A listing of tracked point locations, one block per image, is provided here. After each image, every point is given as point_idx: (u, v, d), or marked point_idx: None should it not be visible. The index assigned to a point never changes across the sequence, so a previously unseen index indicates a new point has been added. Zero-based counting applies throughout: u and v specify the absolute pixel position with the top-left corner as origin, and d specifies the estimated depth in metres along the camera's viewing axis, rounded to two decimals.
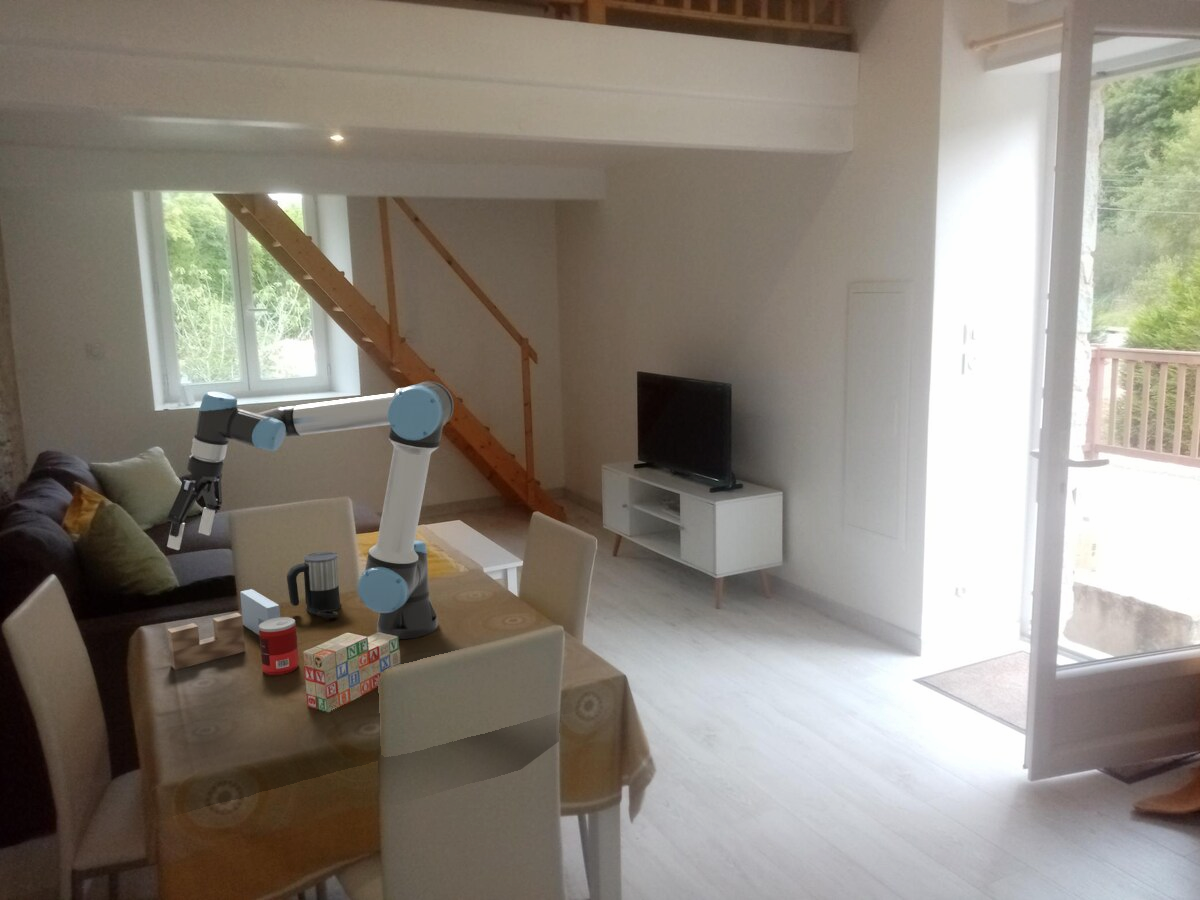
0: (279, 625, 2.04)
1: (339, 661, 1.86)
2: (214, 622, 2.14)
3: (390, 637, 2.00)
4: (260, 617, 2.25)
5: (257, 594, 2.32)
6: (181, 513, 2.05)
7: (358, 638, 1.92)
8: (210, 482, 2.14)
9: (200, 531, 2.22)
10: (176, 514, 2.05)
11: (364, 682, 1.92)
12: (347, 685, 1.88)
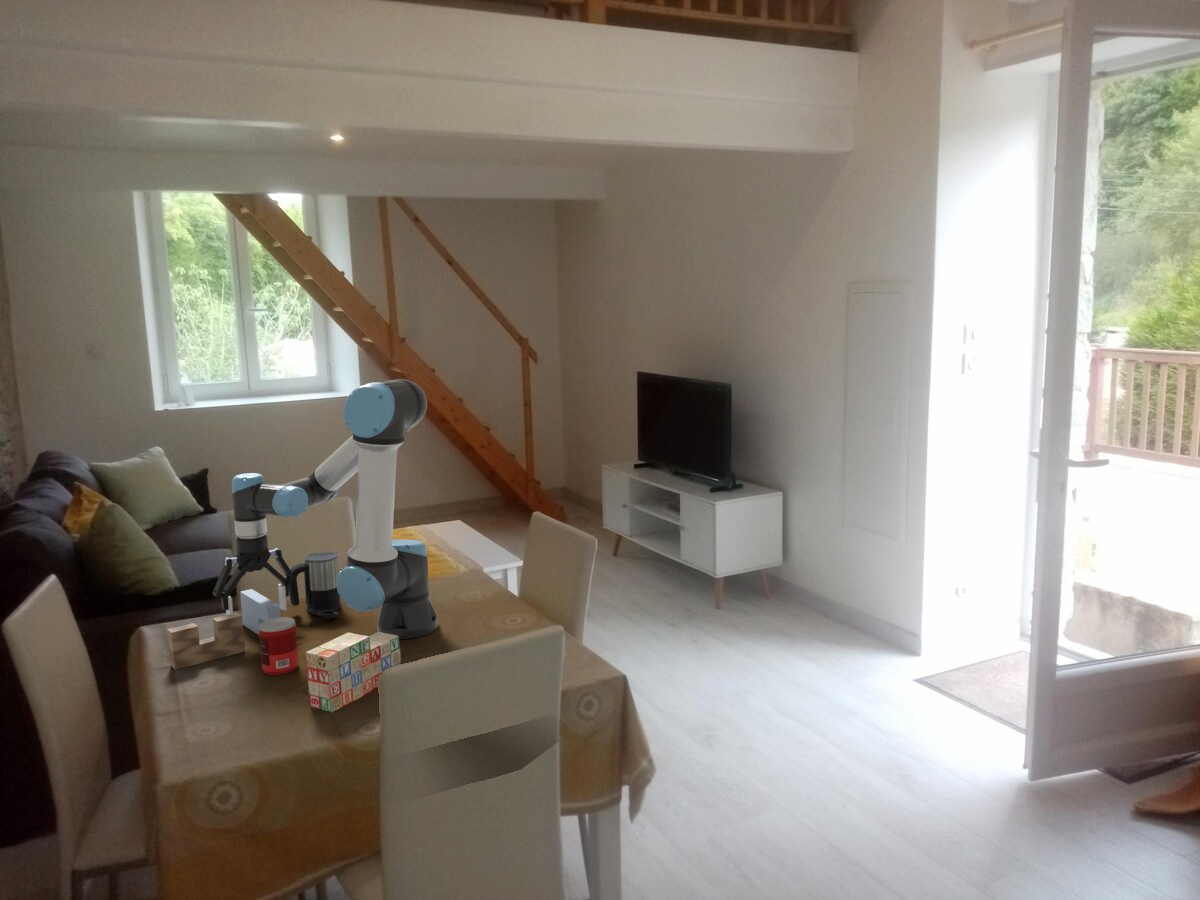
0: (279, 625, 2.04)
1: (342, 661, 1.86)
2: (214, 622, 2.14)
3: (390, 636, 2.00)
4: (260, 617, 2.25)
5: (257, 594, 2.32)
6: (221, 588, 2.23)
7: (360, 637, 1.92)
8: (259, 558, 2.28)
9: (280, 607, 2.36)
10: (217, 589, 2.23)
11: (366, 681, 1.92)
12: (350, 685, 1.88)
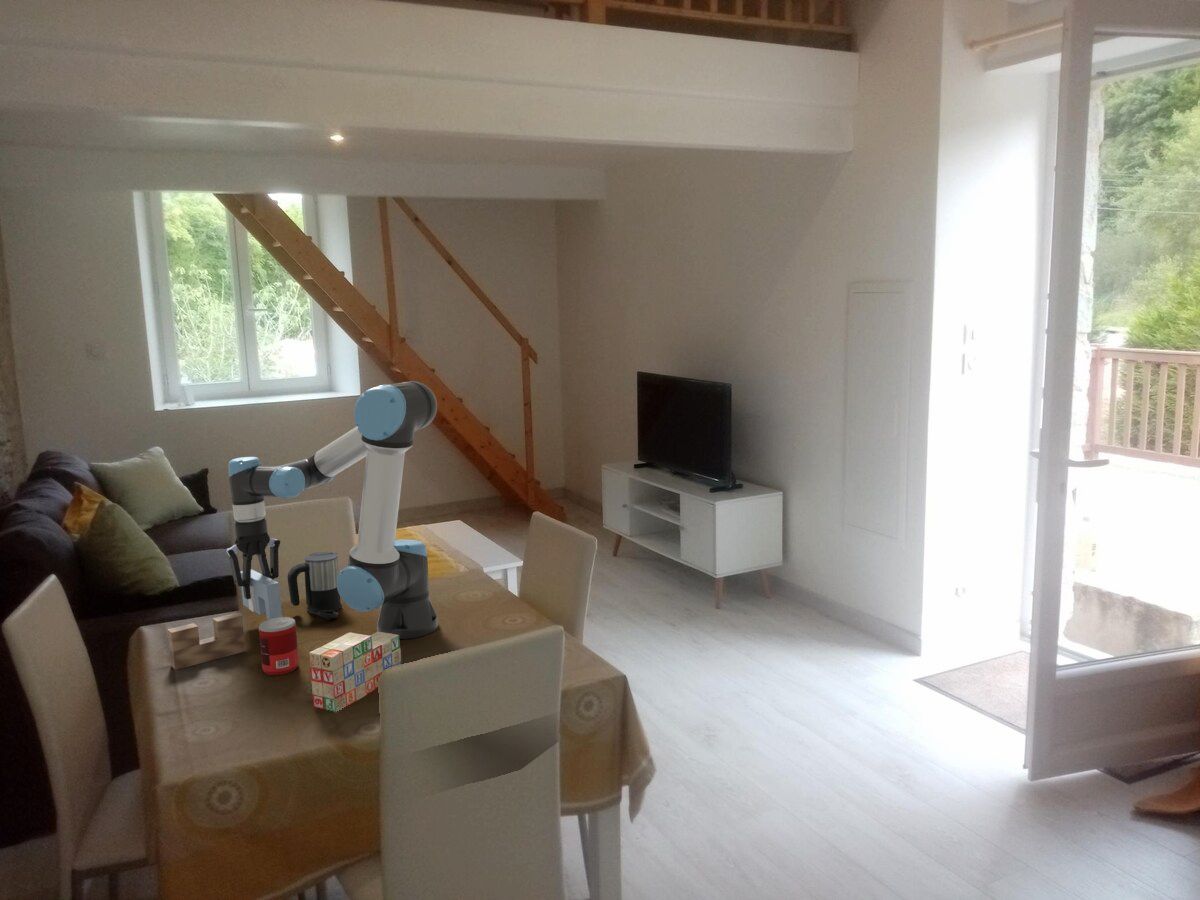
0: (279, 625, 2.04)
1: (346, 660, 1.86)
2: (214, 622, 2.14)
3: (391, 636, 2.00)
4: (260, 595, 2.24)
5: (256, 573, 2.31)
6: (238, 577, 2.25)
7: (362, 637, 1.92)
8: (259, 541, 2.27)
9: None
10: (236, 579, 2.25)
11: (368, 681, 1.93)
12: (353, 685, 1.88)
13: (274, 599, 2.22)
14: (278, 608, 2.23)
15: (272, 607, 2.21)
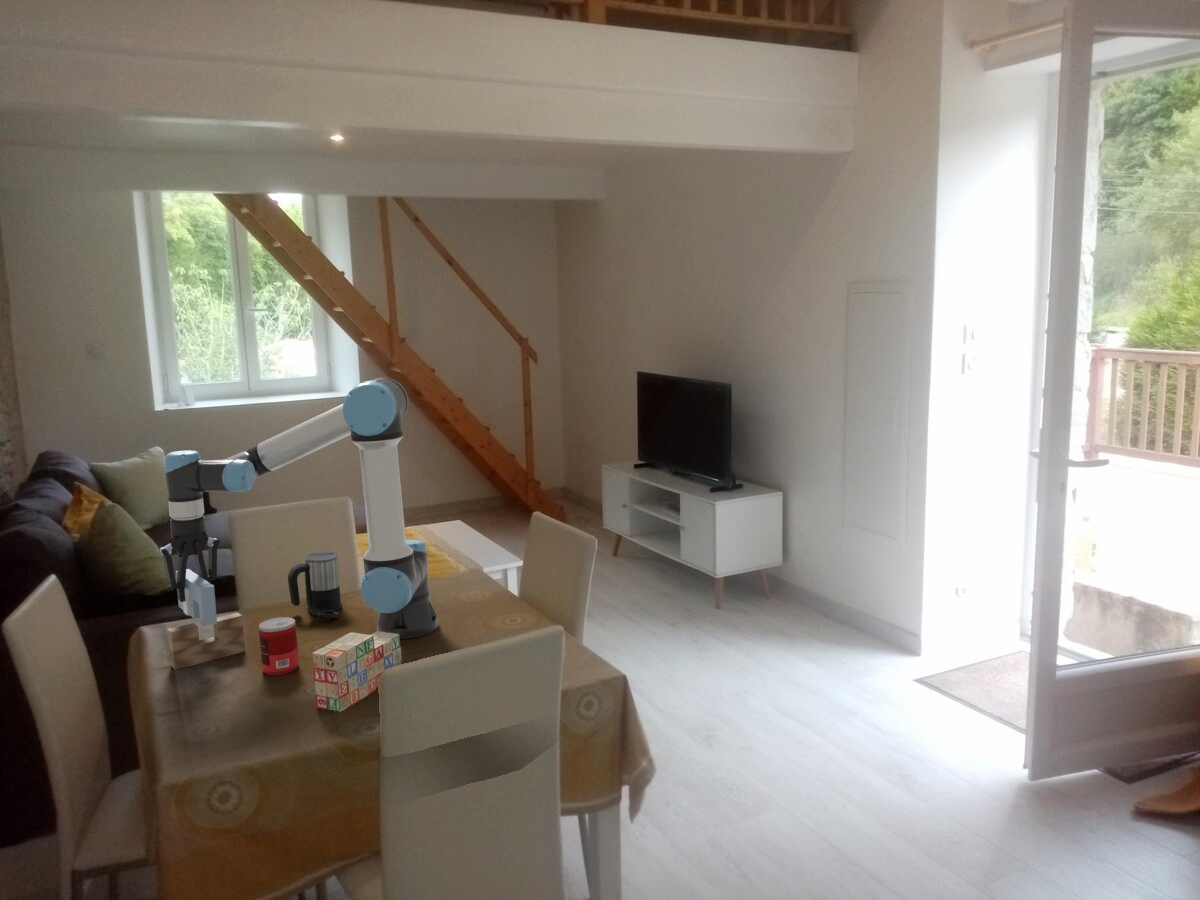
0: (279, 625, 2.04)
1: (349, 660, 1.86)
2: None
3: (391, 635, 2.01)
4: (194, 598, 2.11)
5: (193, 574, 2.17)
6: (172, 578, 2.11)
7: (365, 636, 1.92)
8: (196, 541, 2.13)
9: None
10: (169, 581, 2.11)
11: (371, 680, 1.93)
12: (356, 684, 1.88)
13: (209, 603, 2.08)
14: (213, 613, 2.09)
15: (206, 612, 2.08)
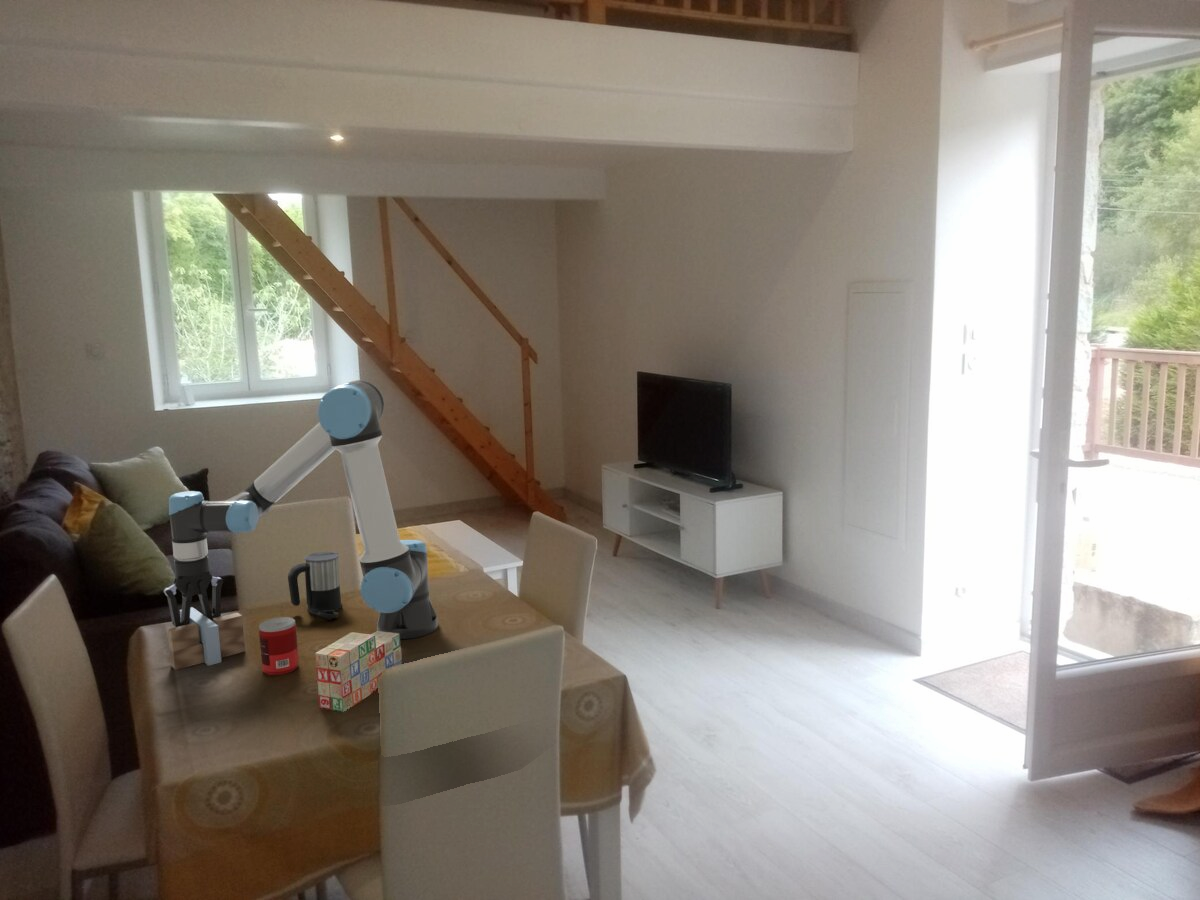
0: (279, 625, 2.04)
1: (352, 660, 1.86)
2: (214, 622, 2.14)
3: (391, 635, 2.01)
4: None
5: (197, 613, 2.18)
6: (176, 618, 2.12)
7: (366, 636, 1.92)
8: (200, 581, 2.15)
9: None
10: (173, 621, 2.13)
11: (373, 680, 1.93)
12: (359, 684, 1.88)
13: (213, 643, 2.09)
14: (217, 652, 2.10)
15: (210, 652, 2.09)
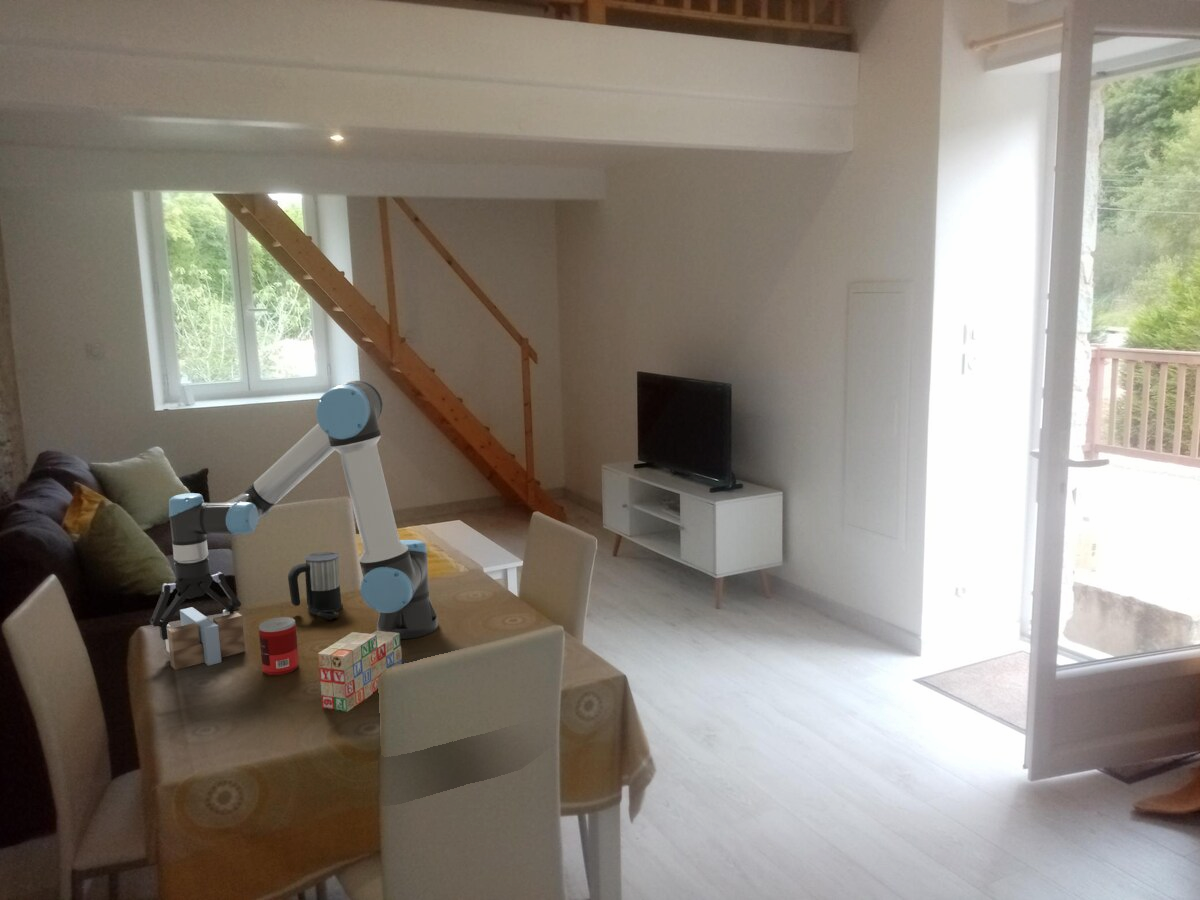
0: (279, 625, 2.04)
1: (355, 659, 1.86)
2: (214, 622, 2.14)
3: (392, 634, 2.01)
4: None
5: (197, 613, 2.18)
6: (158, 616, 2.09)
7: (368, 636, 1.93)
8: (200, 583, 2.14)
9: None
10: (154, 617, 2.09)
11: (374, 679, 1.93)
12: (362, 683, 1.89)
13: (213, 643, 2.09)
14: (217, 652, 2.10)
15: (210, 652, 2.09)
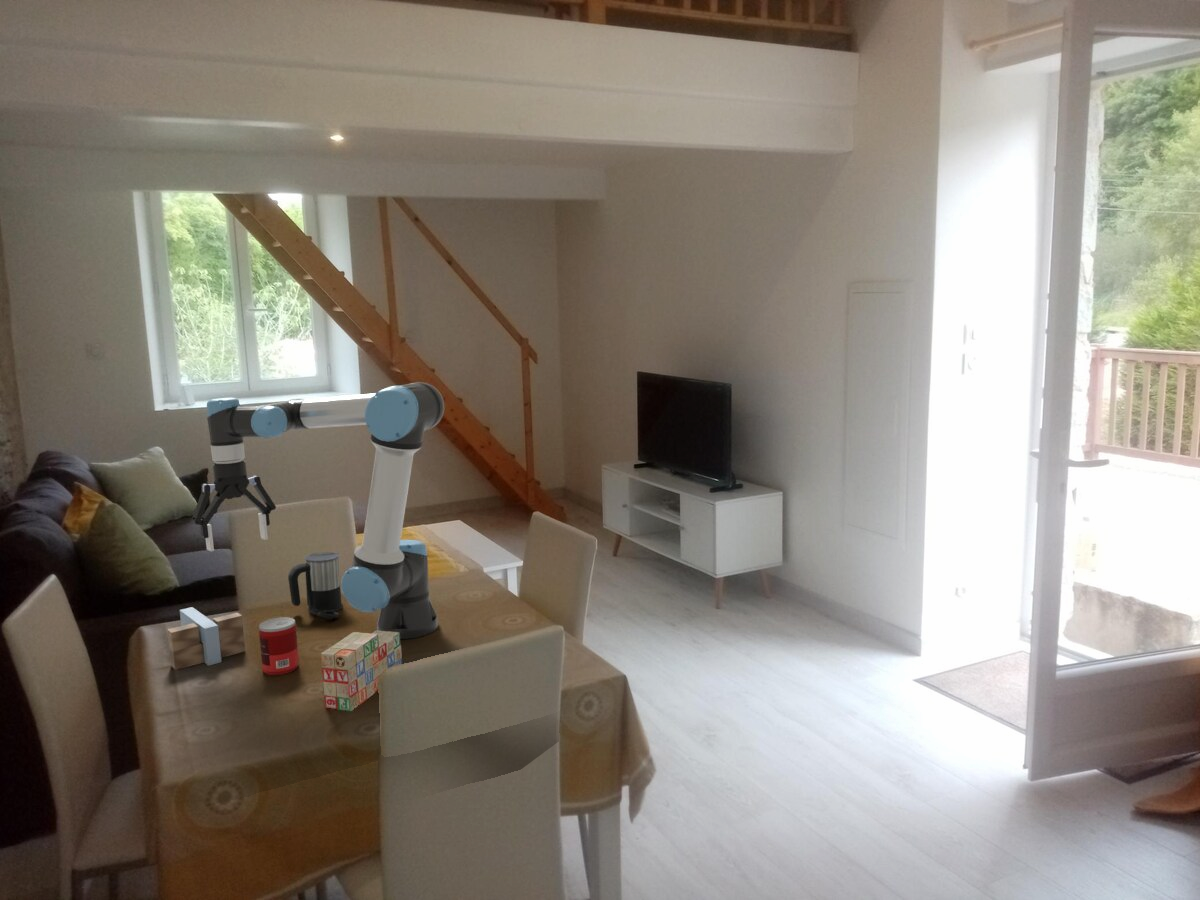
0: (279, 625, 2.04)
1: (358, 659, 1.86)
2: (214, 622, 2.14)
3: (392, 634, 2.02)
4: None
5: (197, 613, 2.18)
6: (199, 514, 2.17)
7: (369, 635, 1.93)
8: (237, 485, 2.23)
9: (261, 537, 2.30)
10: (195, 516, 2.17)
11: (376, 679, 1.94)
12: (364, 683, 1.89)
13: (213, 643, 2.09)
14: (217, 652, 2.10)
15: (210, 652, 2.09)
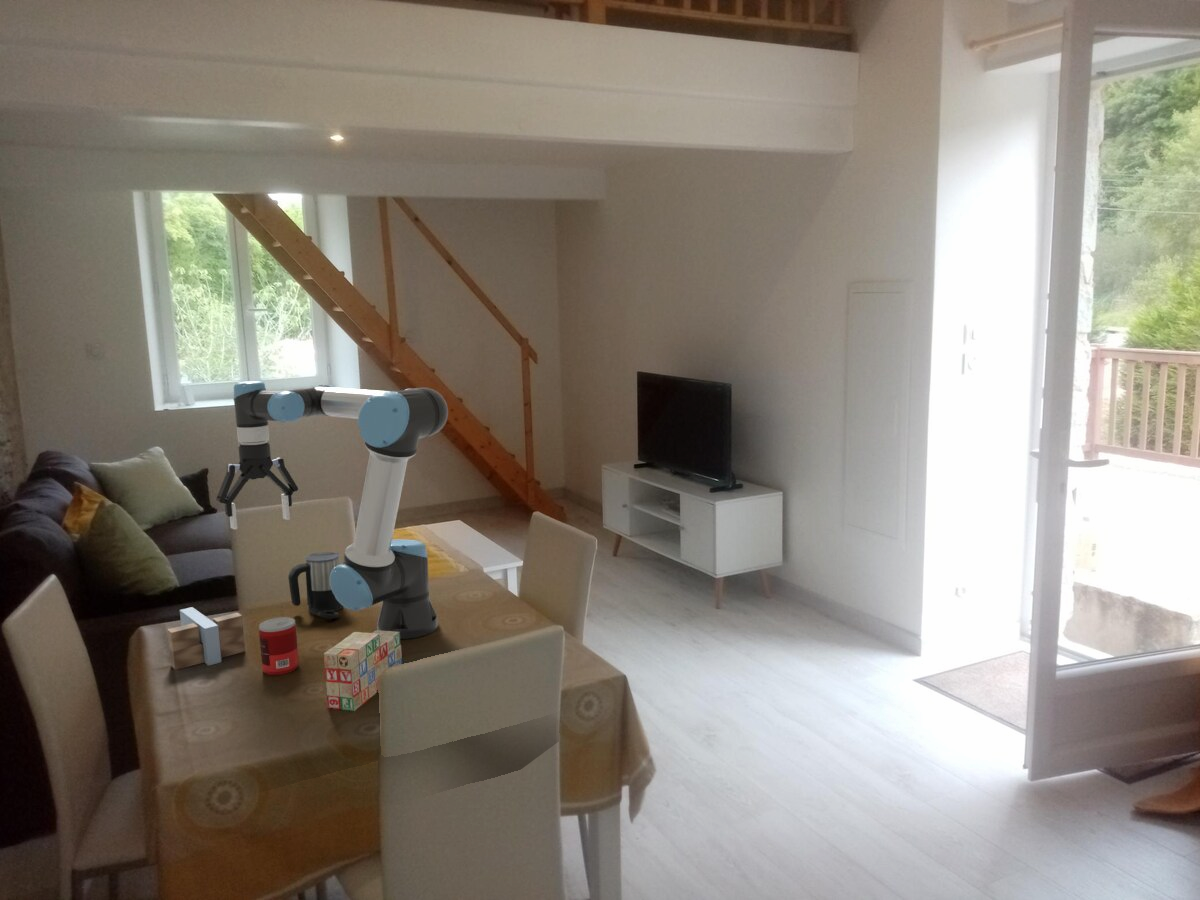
0: (279, 625, 2.04)
1: (361, 659, 1.86)
2: (214, 622, 2.14)
3: (392, 633, 2.02)
4: None
5: (197, 613, 2.18)
6: (224, 493, 2.24)
7: (371, 635, 1.93)
8: (261, 466, 2.29)
9: (283, 517, 2.37)
10: (220, 494, 2.24)
11: (378, 678, 1.94)
12: (367, 682, 1.89)
13: (213, 643, 2.09)
14: (217, 652, 2.10)
15: (210, 652, 2.09)
